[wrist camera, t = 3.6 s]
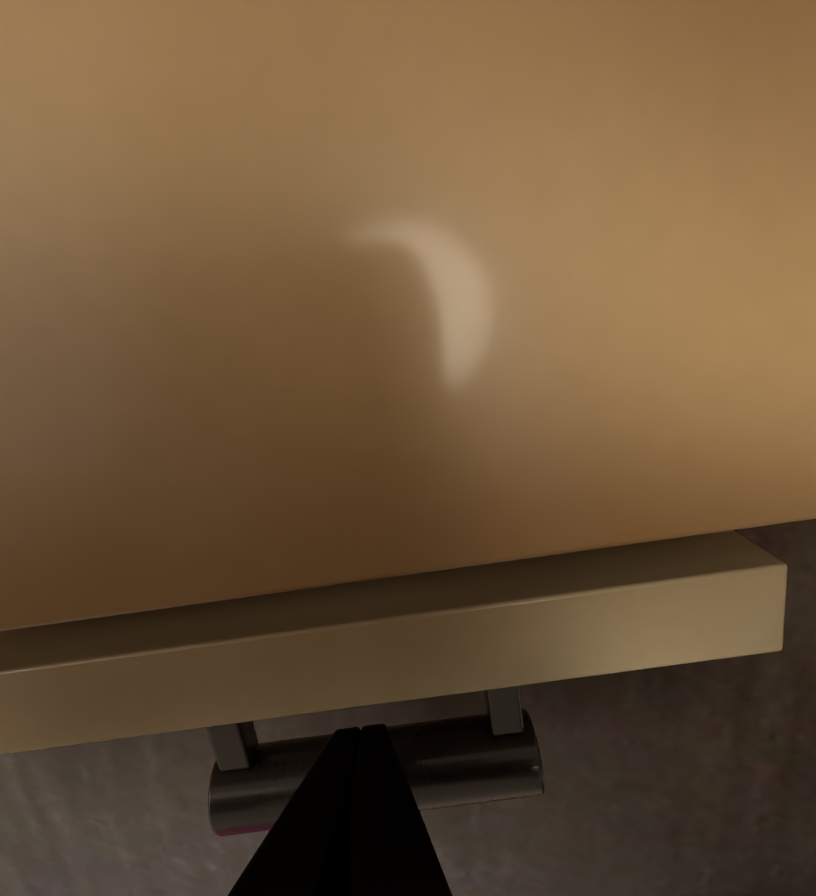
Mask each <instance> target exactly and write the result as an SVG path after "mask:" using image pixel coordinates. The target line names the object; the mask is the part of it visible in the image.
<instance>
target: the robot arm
mask: <svg viewBox="0 0 816 896" xmlns="http://www.w3.org/2000/svg"><path fill="white" fill-rule="evenodd" d="M228 896H452V894H451V891H450V888H449V886H448V883H447V881H446V878H445V876H444V873H443V870H442V868H441V865H440V863H439V860H438V857H437V855H436V852H435V850H434V847H433V845H432V842H431V839H430V837H429V834H428V832H427V829H426V827H425V824H424V821H423V819H422V816H421V814H420V811H419V809H418V806H417V803H416V801H415V798H414V796H413V793H412V790H411V788H410V785H409V783H408V780H407V778H406V775H405V772H404V770H403V767H402V765H401V762H400V760H399V757H398V754H397V752H396V749H395V747H394V744H393V742H392V739H391V736H390V734H389V731H388V729H387V726H386V725H385V724H375V725H367V726H364V727H362V729H360V728H358V727H352V728H344V729H338V730H336V731H335V732H334V733H333V735H332V736H331V738H330V739H329V741H328V742H327V744H326V745H325V747H324V748H323V750H322V752H321V753H320V755H319V756H318V758H317V759H316V761H315V762H314V764H313V765H312V767H311V768H310V770H309V771H308V773H307V775H306V776H305V778H304V779H303V781H302V782H301V784H300V785H299V787H298V788H297V790H296V791H295V793H294V795H293V796H292V798H291V799H290V801H289V802H288V804H287V805H286V807H285V808H284V810H283V811H282V813H281V814H280V816H279V818H278V819H277V821H276V822H275V824H274V825H273V827H272V828H271V830H270V831H269V833H268V834H267V836H266V837H265V839H264V841H263V842H262V844H261V845H260V847H259V848H258V850H257V851H256V853H255V854H254V856H253V857H252V859H251V860H250V862H249V864H248V865H247V867H246V868H245V870H244V871H243V873H242V874H241V876H240V877H239V879H238V880H237V882H236V883H235V885H234V887H233V888H232V890H231V891H230V893H229V894H228Z"/></svg>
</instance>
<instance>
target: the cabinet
mask: <svg viewBox="0 0 816 896" xmlns="http://www.w3.org/2000/svg"><path fill="white" fill-rule="evenodd" d="M810 519H816V0H0V631H6V630H14V629H21V628H28V627H35V626H43V625H50V624H57V623H64V622H72V621H79V620H86V619H93V618H101V617H108V616H115V615H122V614H129V613H137V612H144V611H151V610H158V609H166V608H173V607H180V606H187V605H195V604H202V603H209V602H216V601H224V600H231V599H238V598H245V597H253V596H260V595H267V594H274V593H281V592H289V591H296V590H303V589H310V588H318V587H325V586H332V585H339V584H347V583H354V582H361V581H368V580H376V579H383V578H390V577H397V576H405V575H412V574H419V573H426V572H433V571H441V570H448V569H455V568H462V567H470V566H477V565H484V564H491V563H499V562H506V561H513V560H520V559H528V558H535V557H542V556H549V555H557V554H564V553H571V552H578V551H585V550H593V549H600V548H607V547H614V546H622V545H629V544H636V543H643V542H651V541H658V540H665V539H672V538H680V537H687V536H694V535H701V534H709V533H716V532H723V531H730V530H737V529H745V528H752V527H759V526H766V525H774V524H781V523H788V522H795V521H803V520H810Z"/></svg>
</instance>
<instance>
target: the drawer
mask: <svg viewBox="0 0 816 896" xmlns="http://www.w3.org/2000/svg"><path fill="white" fill-rule="evenodd" d="M786 584H787V565H786V564H785V563H784V562H782V561H781V560H779V559H777V558H776V557H774V556H773V555H771V554H770V553H768V552H767V551H765V550H763V549H762V548H760V547H759V546H757V545H756V544H754V543H753V542H751V541H749V540H748V539H746V538H745V537H743V536H742V535H740V534H738V533H737V532H735V531H734V530H730V531H723V532H716V533H709V534H701V535H694V536H687V537H680V538H672V539H665V540H658V541H651V542H643V543H636V544H629V545H622V546H614V547H607V548H600V549H593V550H585V551H578V552H571V553H564V554H557V555H549V556H542V557H535V558H528V559H520V560H513V561H506V562H499V563H491V564H484V565H477V566H470V567H462V568H455V569H448V570H441V571H433V572H426V573H419V574H412V575H405V576H397V577H390V578H383V579H376V580H368V581H361V582H354V583H347V584H339V585H332V586H325V587H318V588H310V589H303V590H296V591H289V592H281V593H274V594H267V595H260V596H253V597H245V598H238V599H231V600H224V601H216V602H209V603H202V604H195V605H187V606H180V607H173V608H166V609H158V610H151V611H144V612H137V613H129V614H122V615H115V616H108V617H101V618H93V619H86V620H79V621H72V622H64V623H57V624H50V625H43V626H35V627H28V628H21V629H14V630H6V631H0V755H1V754H9V753H16V752H24V751H31V750H39V749H46V748H54V747H61V746H69V745H76V744H84V743H92V742H99V741H107V740H114V739H122V738H129V737H137V736H144V735H152V734H159V733H167V732H174V731H182V730H189V729H197V728H204V727H206V728H207V731H208V734H209V738H210V741H211V744H212V747H213V751H214V754H215V757H216V762H215V764H214V767H213V770H212V774H211V779H210V785H209V793H208V813H209V820H210V824H211V827H212V830H213V831H214V833H215V834H217V835H219V836H227V835H235V834H243V833H251V832H258V831H266V830H271V828H272V827H273V825H274V824H275V822H276V821H277V819H278V818H279V816H280V814H281V813H282V811H283V810H284V808H285V807H286V805H287V804H288V802H289V801H290V799H291V798H292V796H293V795H294V793H295V791H296V790H297V788H298V787H299V785H300V784H301V782H302V781H303V779H304V778H305V776H306V775H307V773H308V771H309V770H310V768H311V767H312V765H313V764H314V762H315V761H316V759H317V758H318V756H319V755H320V753H321V752H322V750H323V748H324V747H325V745H326V744H327V742H328V741H329V739H330V738H331V736H332V735H333V734H327V735H319V736H312V737H304V738H296V739H289V740H281V741H274V742H266V743H259V744H258V739H257V735H256V732H255V728H254V725H253V721H257V720H265V719H272V718H280V717H287V716H295V715H302V714H310V713H317V712H325V711H332V710H340V709H347V708H355V707H362V706H370V705H377V704H385V703H393V702H400V701H408V700H415V699H423V698H430V697H438V696H445V695H453V694H460V693H468V692H475V691H483V690H484V696H485V705H486V714H478V715H471V716H463V717H456V718H448V719H441V720H433V721H425V722H418V723H410V724H403V725H395V726H387V729H388V731H389V734H390V736H391V739H392V742H393V744H394V747H395V749H396V752H397V754H398V757H399V760H400V762H401V765H402V767H403V770H404V772H405V775H406V778H407V780H408V783H409V785H410V788H411V790H412V793H413V796H414V798H415V801H416V803H417V806H418V809H419V811H422V810H430V809H438V808H446V807H453V806H461V805H469V804H477V803H485V802H492V801H500V800H508V799H516V798H524V797H531V796H539V795H542V794H543V793H544V774H543V767H542V761H541V756H540V751H539V747H538V742H537V738H536V734H535V731H534V727H533V724H532V721H531V718H530V716H529V714H528V712H527V710H525V709H522V705H521V695H520V685H528V684H536V683H543V682H551V681H558V680H566V679H573V678H581V677H588V676H596V675H603V674H611V673H618V672H626V671H633V670H641V669H648V668H656V667H663V666H671V665H679V664H686V663H694V662H701V661H709V660H716V659H724V658H731V657H739V656H746V655H754V654H761V653H769V652H776V651H781V650H782V648H783V632H784V616H785V600H786Z"/></svg>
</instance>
